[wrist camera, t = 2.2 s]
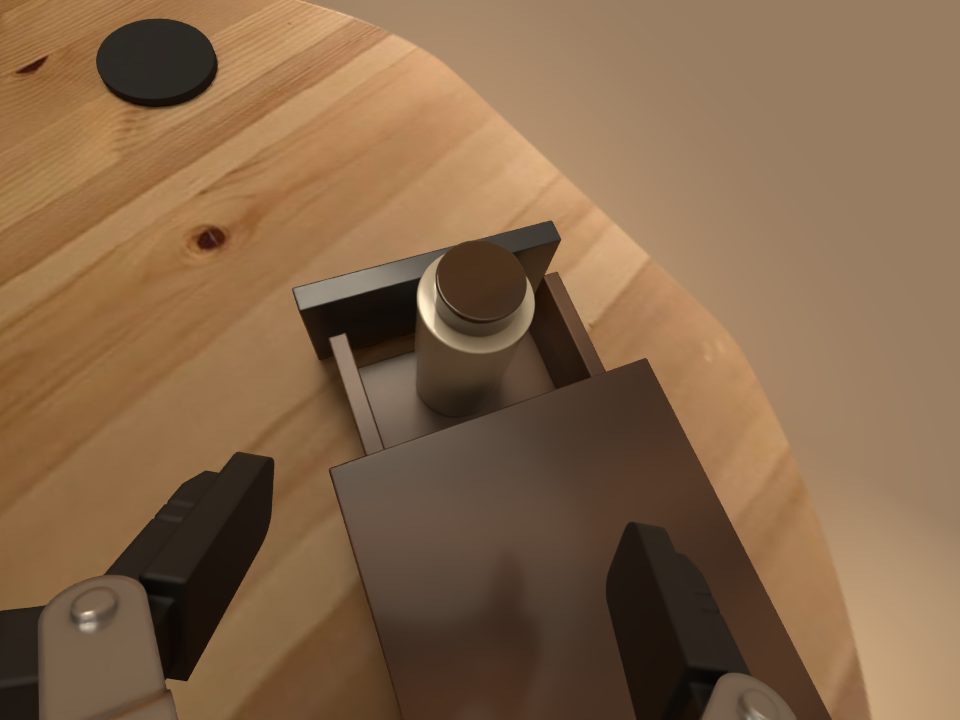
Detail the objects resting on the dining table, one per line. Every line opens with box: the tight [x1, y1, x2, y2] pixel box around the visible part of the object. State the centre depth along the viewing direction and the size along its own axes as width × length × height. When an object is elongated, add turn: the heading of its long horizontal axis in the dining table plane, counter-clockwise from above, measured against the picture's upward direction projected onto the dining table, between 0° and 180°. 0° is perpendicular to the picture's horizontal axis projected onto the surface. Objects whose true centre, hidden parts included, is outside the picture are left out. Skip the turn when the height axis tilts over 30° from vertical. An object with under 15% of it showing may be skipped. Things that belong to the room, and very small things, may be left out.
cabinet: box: [329, 358, 832, 720], centre depth 23 cm, size 15×14×8 cm
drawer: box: [292, 221, 606, 456], centre depth 26 cm, size 15×13×6 cm
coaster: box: [96, 19, 217, 106], centre depth 35 cm, size 7×7×1 cm
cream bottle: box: [413, 240, 535, 417], centre depth 23 cm, size 4×4×10 cm
